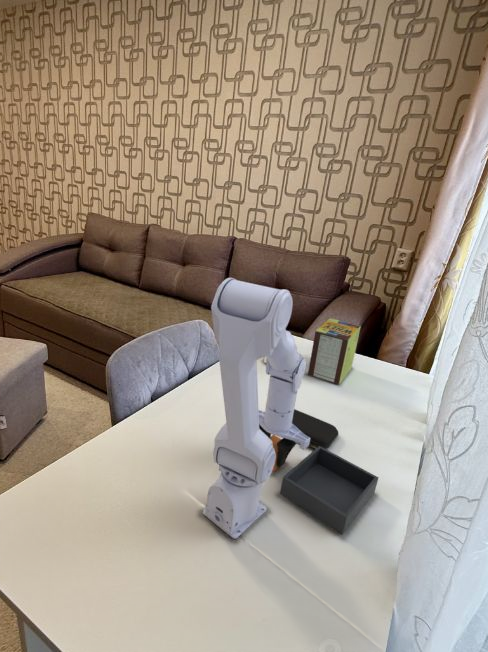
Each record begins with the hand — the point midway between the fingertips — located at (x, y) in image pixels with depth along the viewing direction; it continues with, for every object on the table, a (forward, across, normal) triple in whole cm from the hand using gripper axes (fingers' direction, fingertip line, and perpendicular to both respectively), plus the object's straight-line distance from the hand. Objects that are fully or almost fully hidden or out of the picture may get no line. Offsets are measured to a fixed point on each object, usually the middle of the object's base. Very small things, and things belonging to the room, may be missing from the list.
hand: (271, 459), depth 85 cm
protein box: (+2, +13, -52) cm, 54 cm away
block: (+1, 0, 0) cm, 1 cm away
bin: (+1, -13, -1) cm, 13 cm away
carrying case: (+2, +1, -15) cm, 15 cm away
